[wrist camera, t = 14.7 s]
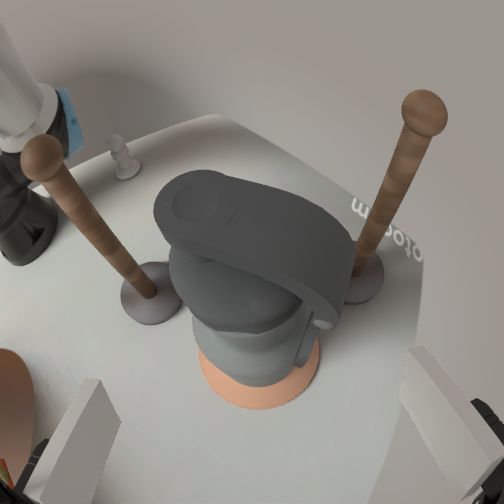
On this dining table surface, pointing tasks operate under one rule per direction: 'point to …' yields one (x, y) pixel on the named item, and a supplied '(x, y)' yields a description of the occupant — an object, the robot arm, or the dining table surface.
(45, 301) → the dining table surface
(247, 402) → the glossy peach dome
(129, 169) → the chess piece
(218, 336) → the water bottle
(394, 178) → the walnut post
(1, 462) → the cracker box
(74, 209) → the walnut post
